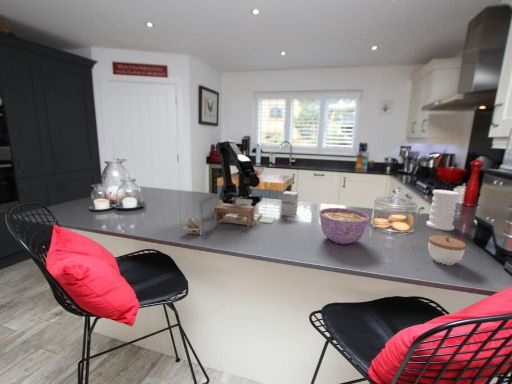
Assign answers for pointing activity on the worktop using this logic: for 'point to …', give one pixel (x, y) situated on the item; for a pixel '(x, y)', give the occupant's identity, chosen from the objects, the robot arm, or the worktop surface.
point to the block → (243, 215)
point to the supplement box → (289, 203)
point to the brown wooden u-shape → (234, 212)
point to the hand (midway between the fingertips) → (243, 213)
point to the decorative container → (443, 209)
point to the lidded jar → (446, 249)
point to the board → (239, 218)
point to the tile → (267, 220)
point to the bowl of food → (343, 224)
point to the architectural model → (194, 226)
